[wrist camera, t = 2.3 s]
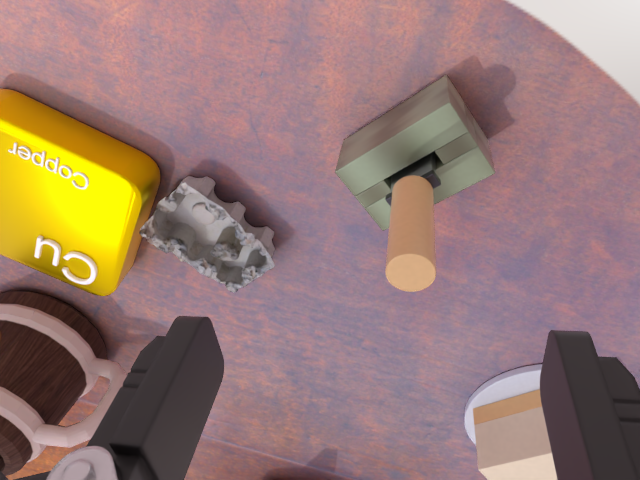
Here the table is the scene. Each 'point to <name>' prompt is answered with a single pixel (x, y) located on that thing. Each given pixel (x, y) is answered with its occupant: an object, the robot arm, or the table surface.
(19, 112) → the element tile
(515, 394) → the plate
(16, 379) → the mug
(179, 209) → the egg carton
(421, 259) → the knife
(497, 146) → the table surface
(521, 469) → the wooden slotted box
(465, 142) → the knife block
